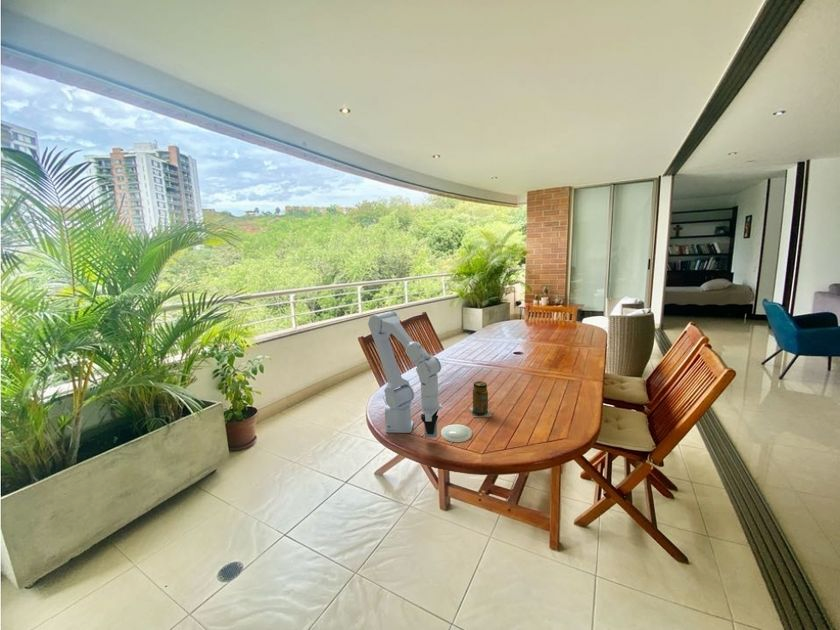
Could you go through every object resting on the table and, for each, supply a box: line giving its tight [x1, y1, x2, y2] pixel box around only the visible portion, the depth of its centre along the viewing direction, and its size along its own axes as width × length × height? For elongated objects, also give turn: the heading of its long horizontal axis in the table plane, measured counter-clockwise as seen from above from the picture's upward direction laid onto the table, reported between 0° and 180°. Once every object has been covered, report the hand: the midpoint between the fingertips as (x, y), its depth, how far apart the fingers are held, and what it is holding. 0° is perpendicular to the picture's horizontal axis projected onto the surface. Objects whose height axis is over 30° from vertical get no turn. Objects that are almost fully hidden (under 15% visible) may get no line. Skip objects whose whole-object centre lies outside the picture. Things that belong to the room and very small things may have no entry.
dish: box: [440, 423, 473, 443], centre depth 122 cm, size 11×11×1 cm
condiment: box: [469, 380, 493, 418], centre depth 135 cm, size 7×8×12 cm
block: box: [423, 420, 438, 439], centre depth 116 cm, size 4×4×6 cm
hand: (431, 430), depth 117 cm, fingers closed on block, 4 cm apart
